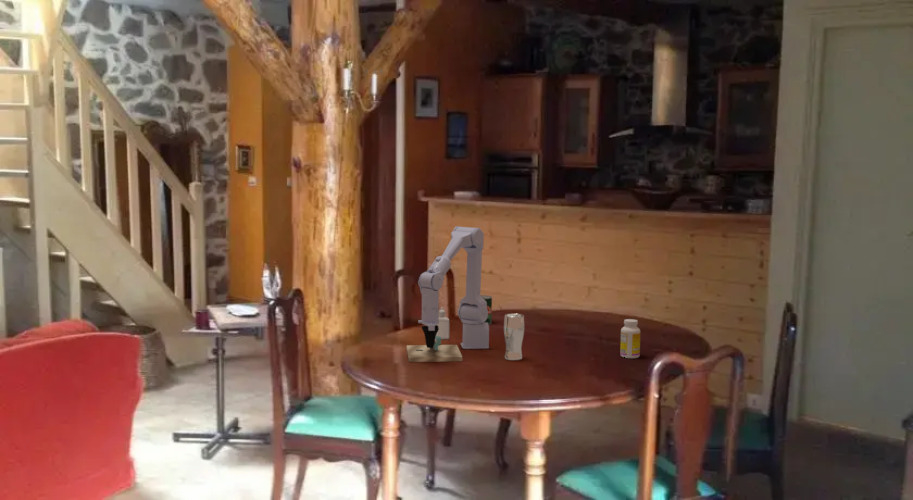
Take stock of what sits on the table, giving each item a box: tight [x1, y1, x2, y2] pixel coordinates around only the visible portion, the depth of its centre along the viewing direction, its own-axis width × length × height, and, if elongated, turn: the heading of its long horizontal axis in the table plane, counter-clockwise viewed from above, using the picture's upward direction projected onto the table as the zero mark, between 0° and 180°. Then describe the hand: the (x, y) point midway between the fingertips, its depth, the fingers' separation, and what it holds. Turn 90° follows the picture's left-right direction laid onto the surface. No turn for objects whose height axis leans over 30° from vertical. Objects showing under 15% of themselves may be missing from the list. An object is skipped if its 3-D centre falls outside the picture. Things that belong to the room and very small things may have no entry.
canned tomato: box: [474, 294, 493, 326], centre depth 358 cm, size 8×8×11 cm
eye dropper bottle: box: [436, 306, 450, 340], centre depth 328 cm, size 4×6×12 cm
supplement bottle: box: [619, 318, 641, 359], centre depth 303 cm, size 7×7×13 cm
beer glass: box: [503, 313, 525, 361], centre depth 299 cm, size 7×7×15 cm
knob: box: [433, 336, 442, 350], centre depth 299 cm, size 11×5×3 cm, turn 8°
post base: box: [406, 344, 463, 363], centre depth 303 cm, size 18×18×4 cm
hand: (429, 347), depth 295 cm, fingers closed
